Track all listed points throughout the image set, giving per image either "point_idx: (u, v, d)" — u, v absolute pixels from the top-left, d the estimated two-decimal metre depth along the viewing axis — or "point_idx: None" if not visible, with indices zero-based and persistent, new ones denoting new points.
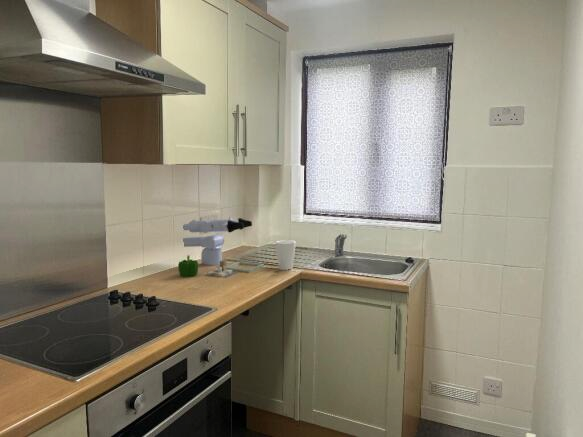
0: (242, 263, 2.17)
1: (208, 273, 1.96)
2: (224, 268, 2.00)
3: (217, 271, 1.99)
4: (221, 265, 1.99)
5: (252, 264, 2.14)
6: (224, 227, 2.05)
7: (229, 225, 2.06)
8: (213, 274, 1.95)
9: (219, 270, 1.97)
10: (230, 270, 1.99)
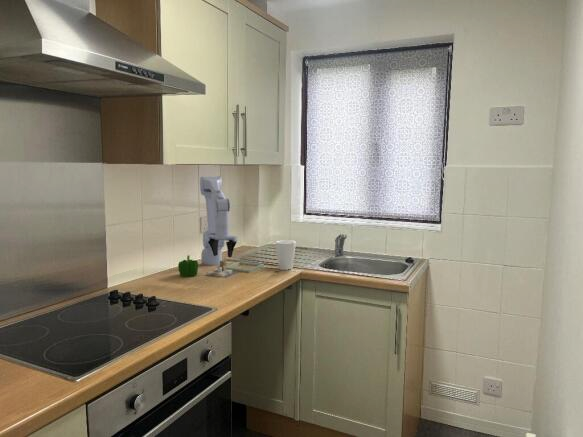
0: (242, 263, 2.17)
1: (208, 273, 1.96)
2: (224, 268, 2.00)
3: (217, 271, 1.99)
4: (221, 265, 1.99)
5: (252, 264, 2.14)
6: None
7: None
8: (213, 274, 1.95)
9: (219, 270, 1.97)
10: (230, 270, 1.99)
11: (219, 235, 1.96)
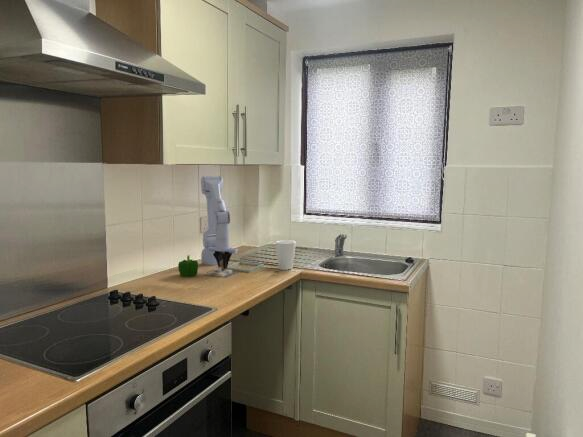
0: (242, 263, 2.17)
1: (208, 273, 1.96)
2: None
3: (217, 271, 1.99)
4: (221, 265, 1.99)
5: (252, 264, 2.14)
6: None
7: None
8: (213, 274, 1.95)
9: (219, 270, 1.97)
10: (230, 270, 1.99)
11: (219, 247, 1.96)
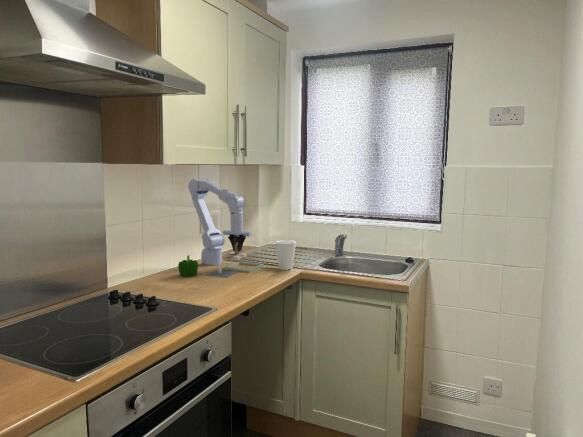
0: (242, 263, 2.17)
1: (224, 256, 2.04)
2: (239, 251, 2.08)
3: (232, 254, 2.08)
4: (236, 249, 2.08)
5: (252, 264, 2.14)
6: None
7: None
8: (228, 257, 2.03)
9: (219, 270, 1.97)
10: (244, 253, 2.08)
11: (234, 230, 2.05)
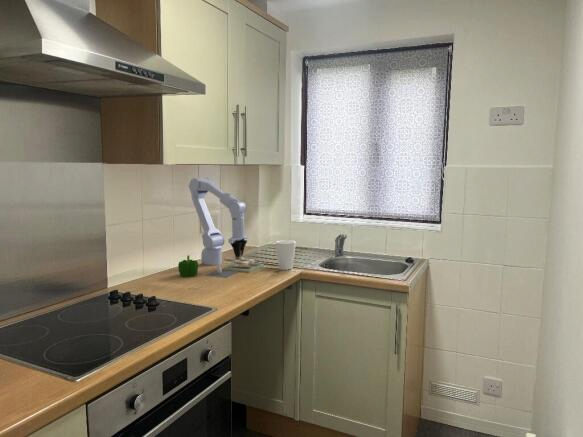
0: None
1: (247, 264, 2.05)
2: None
3: (240, 261, 2.08)
4: (240, 255, 2.10)
5: (252, 264, 2.14)
6: (229, 241, 2.03)
7: (236, 243, 2.06)
8: (250, 263, 2.07)
9: (219, 270, 1.97)
10: (242, 257, 2.14)
11: (244, 235, 2.08)
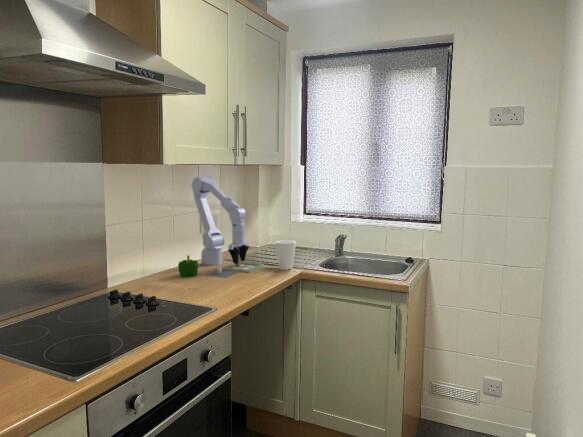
0: (242, 263, 2.17)
1: None
2: None
3: (240, 268, 2.09)
4: (239, 262, 2.10)
5: (252, 264, 2.14)
6: (230, 247, 2.03)
7: None
8: None
9: (219, 270, 1.97)
10: None
11: (244, 241, 2.08)
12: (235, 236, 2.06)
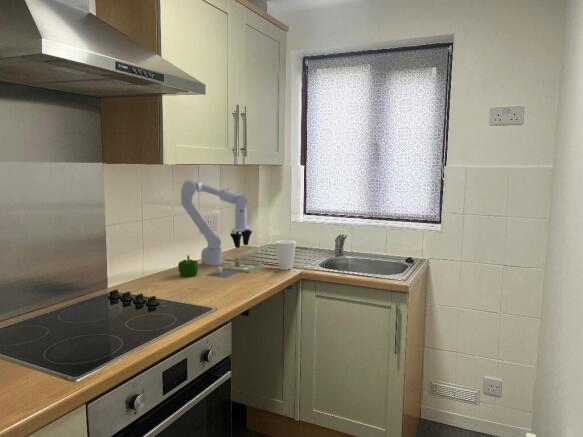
0: (242, 263, 2.17)
1: None
2: None
3: (240, 268, 2.09)
4: (239, 262, 2.10)
5: (252, 264, 2.14)
6: (232, 232, 2.13)
7: (236, 235, 2.15)
8: None
9: (219, 270, 1.97)
10: None
11: (246, 226, 2.19)
12: (238, 221, 2.17)
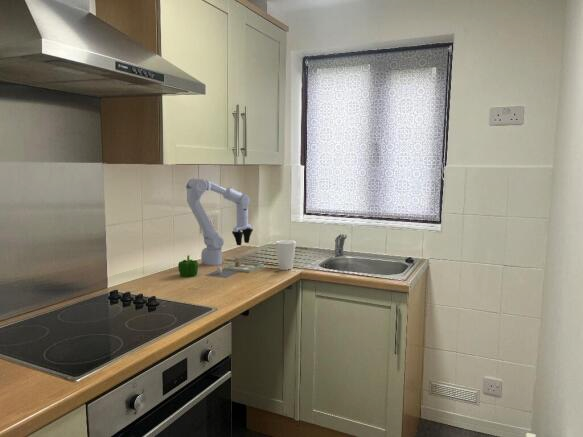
0: (242, 263, 2.17)
1: None
2: None
3: (240, 268, 2.09)
4: (239, 262, 2.10)
5: (252, 264, 2.14)
6: (234, 230, 2.20)
7: (237, 233, 2.21)
8: None
9: (219, 270, 1.97)
10: None
11: (247, 225, 2.25)
12: (239, 219, 2.23)
